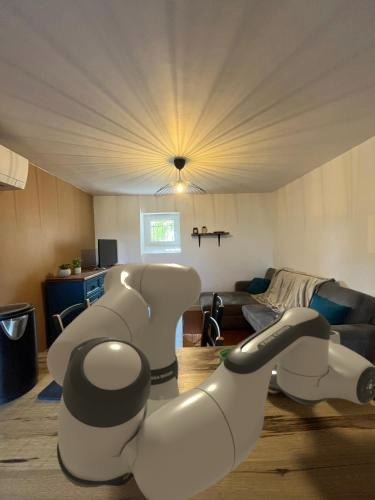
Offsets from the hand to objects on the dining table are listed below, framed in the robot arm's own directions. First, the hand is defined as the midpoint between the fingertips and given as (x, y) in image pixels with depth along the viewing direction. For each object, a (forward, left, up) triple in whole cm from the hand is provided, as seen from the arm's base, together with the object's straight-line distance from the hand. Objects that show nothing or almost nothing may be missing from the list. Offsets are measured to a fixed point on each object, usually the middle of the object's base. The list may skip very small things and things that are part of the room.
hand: (278, 329), depth 76 cm
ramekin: (-9, +14, -17) cm, 24 cm away
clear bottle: (0, -1, -7) cm, 7 cm away
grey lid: (0, -1, -17) cm, 17 cm away
